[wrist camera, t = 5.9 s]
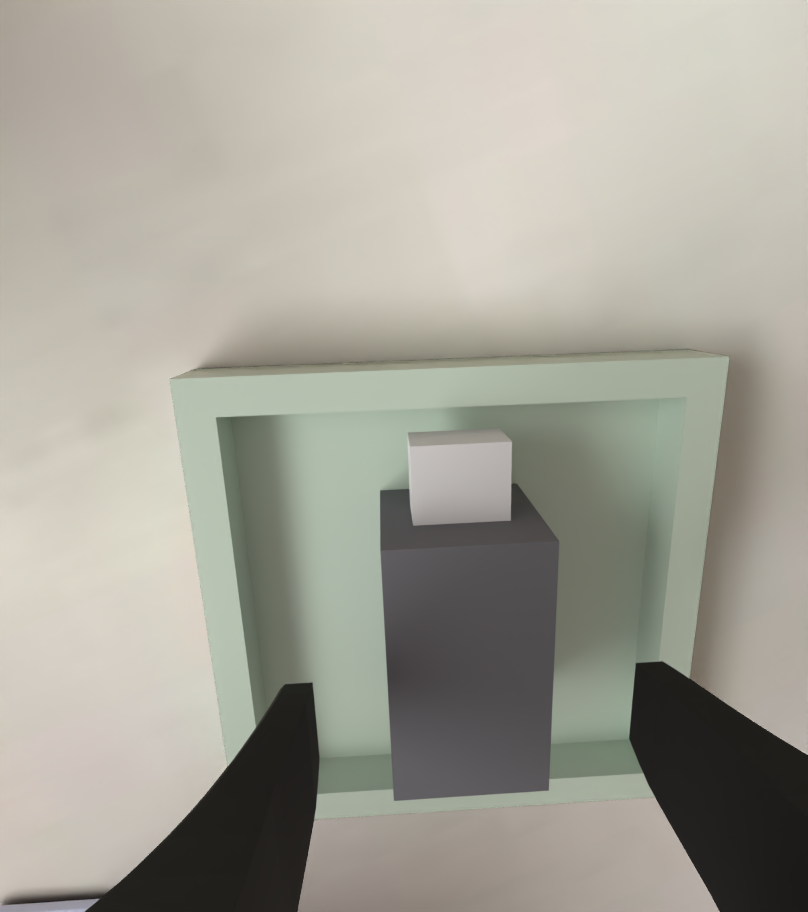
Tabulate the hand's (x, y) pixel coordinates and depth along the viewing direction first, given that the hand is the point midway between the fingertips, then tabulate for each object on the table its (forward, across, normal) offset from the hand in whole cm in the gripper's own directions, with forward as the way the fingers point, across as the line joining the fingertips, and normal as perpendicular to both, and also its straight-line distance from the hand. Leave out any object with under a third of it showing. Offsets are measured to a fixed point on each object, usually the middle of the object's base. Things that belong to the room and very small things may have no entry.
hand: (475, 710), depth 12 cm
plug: (+5, 0, 0) cm, 5 cm away
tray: (+6, 0, 0) cm, 6 cm away
